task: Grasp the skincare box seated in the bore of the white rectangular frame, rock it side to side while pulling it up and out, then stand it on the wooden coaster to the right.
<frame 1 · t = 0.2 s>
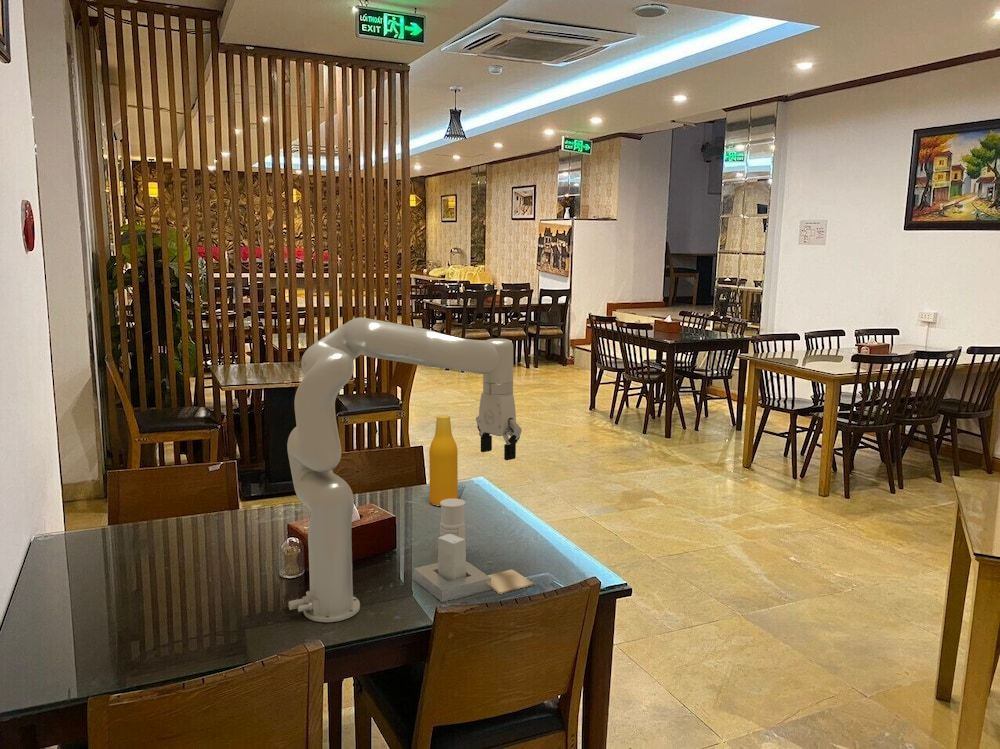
hand: (497, 455, 192), 30 cm above the table, tool pointing down, fingers open, 9 cm apart
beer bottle: (443, 503, 250), on the table
white rectangular frame: (451, 584, 188), on the table
skincare box: (451, 585, 188), resting in white rectangular frame
white ribbed canister: (452, 556, 206), on the table
wooden coaster: (506, 582, 189), on the table
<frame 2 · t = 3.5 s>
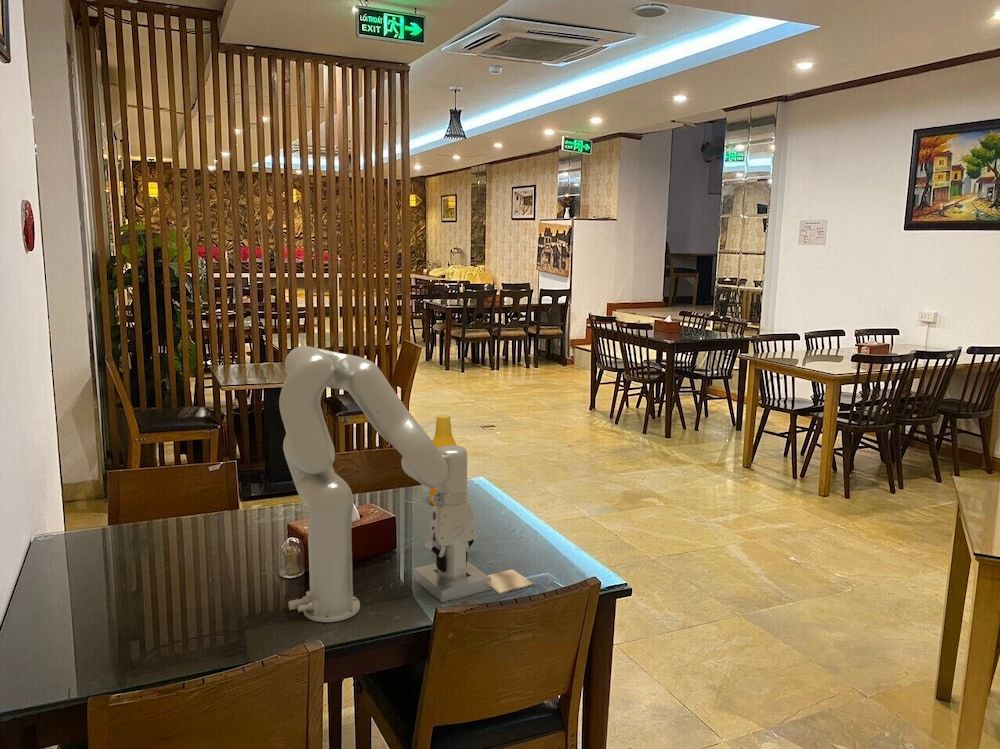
hand: (452, 567, 187), 4 cm above the table, tool pointing down, fingers closed on skincare box, 5 cm apart
skincare box: (452, 585, 188), resting in white rectangular frame, touching gripper
everything else where it was.
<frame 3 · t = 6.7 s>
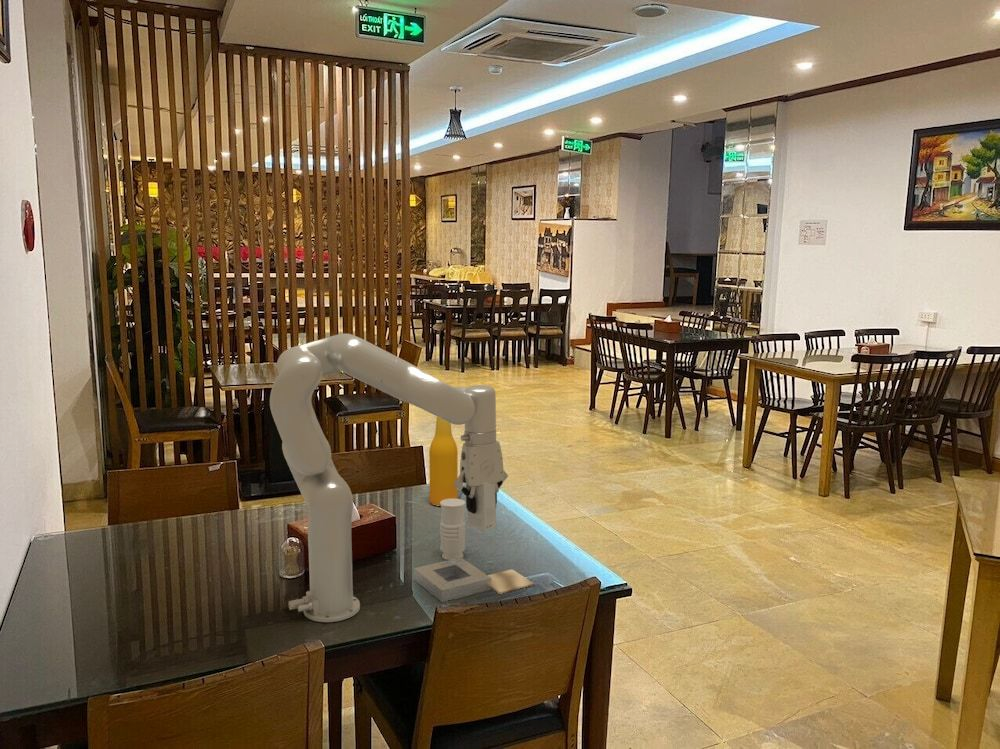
hand: (481, 508, 186), 19 cm above the table, tool pointing down, fingers closed on skincare box, 5 cm apart
skincare box: (481, 527, 187), point 14 cm above the table, touching gripper
everything else where it was.
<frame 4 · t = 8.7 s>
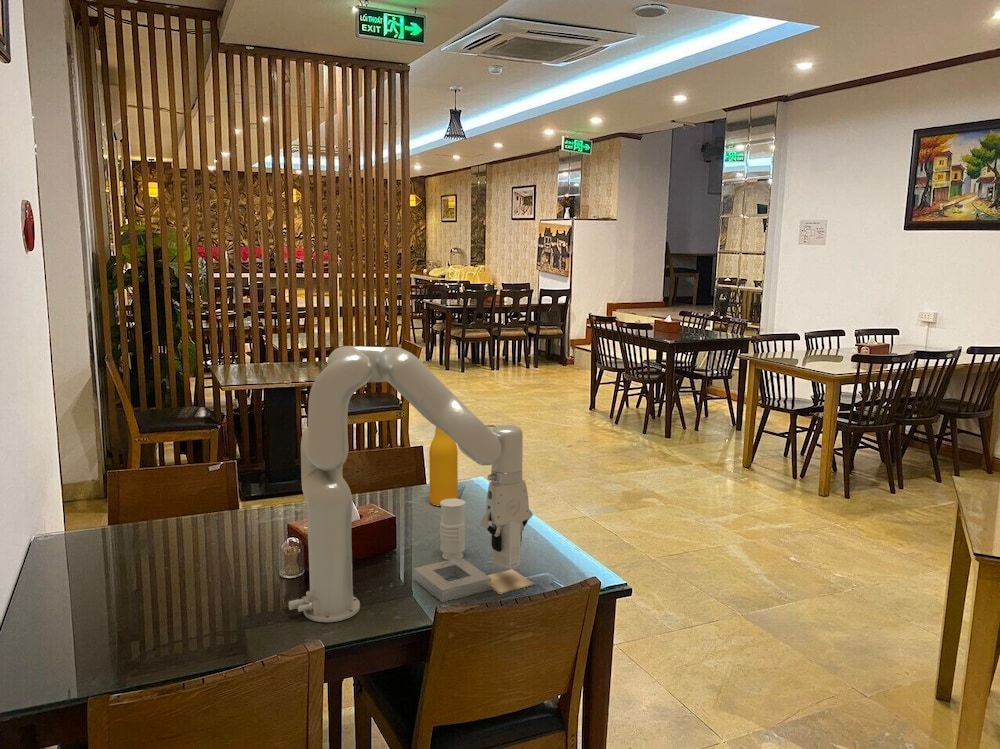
hand: (506, 547, 188), 9 cm above the table, tool pointing down, fingers closed on skincare box, 5 cm apart
skincare box: (506, 564, 189), point 5 cm above the table, touching gripper
everything else where it was.
when the fingers open (6 cm above the table, at t = 10.1 s): skincare box stays where it is, resting on wooden coaster.
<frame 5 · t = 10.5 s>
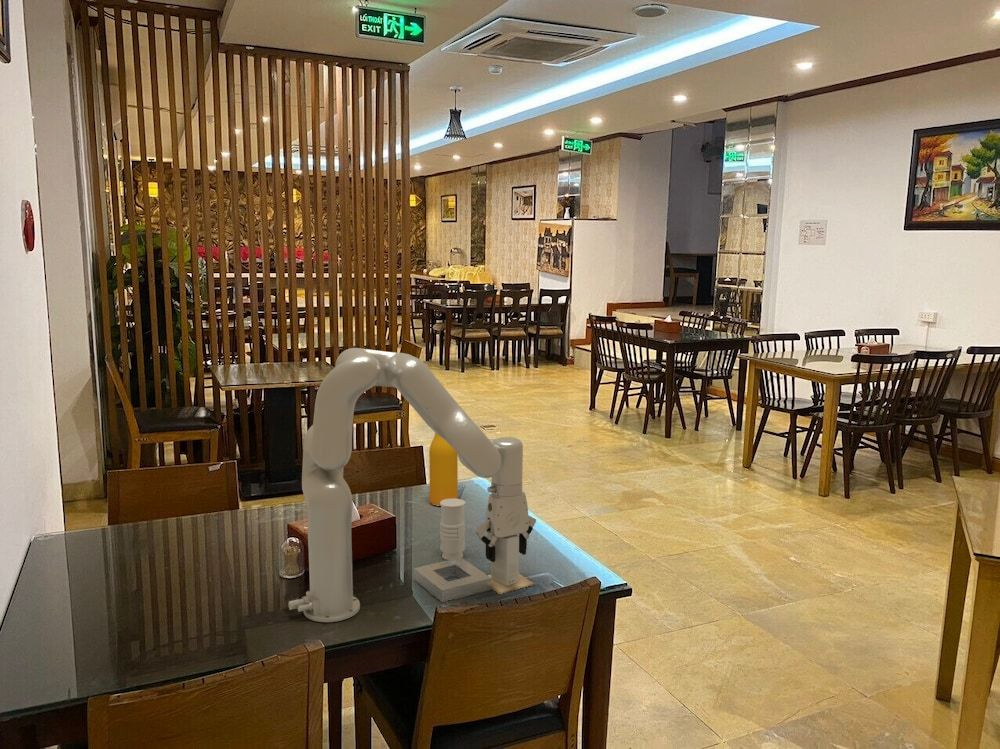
hand: (506, 556, 188), 7 cm above the table, tool pointing down, fingers open, 8 cm apart
skincare box: (504, 581, 189), resting on wooden coaster
everything else where it was.
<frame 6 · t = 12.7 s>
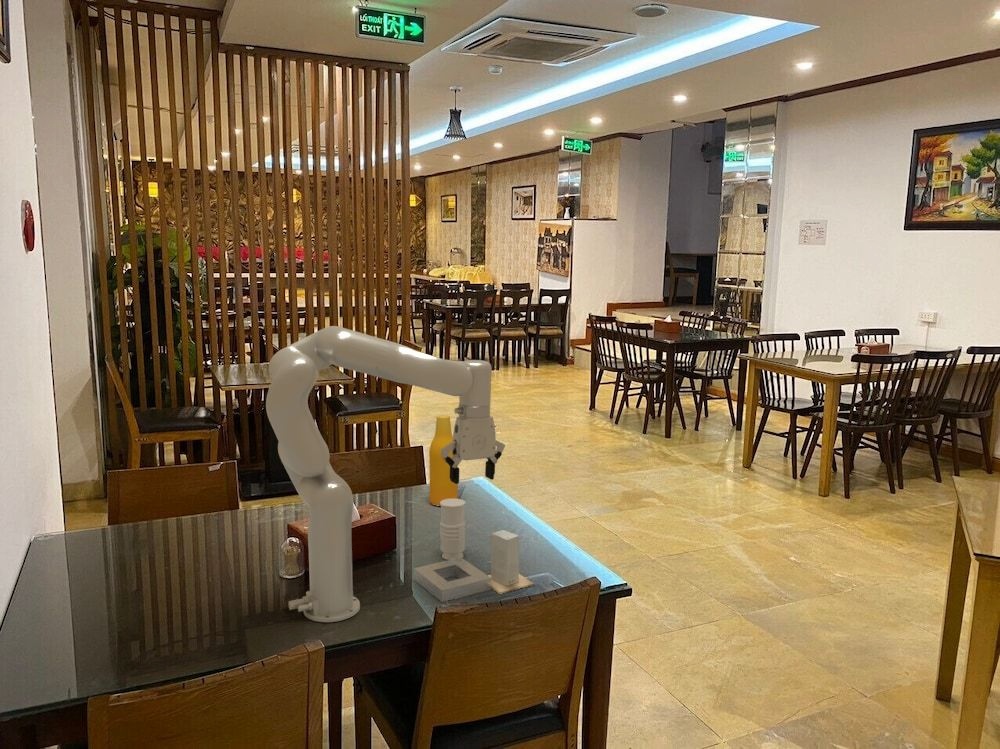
hand: (472, 480, 186), 26 cm above the table, tool pointing down, fingers open, 9 cm apart
nothing on the table moved.
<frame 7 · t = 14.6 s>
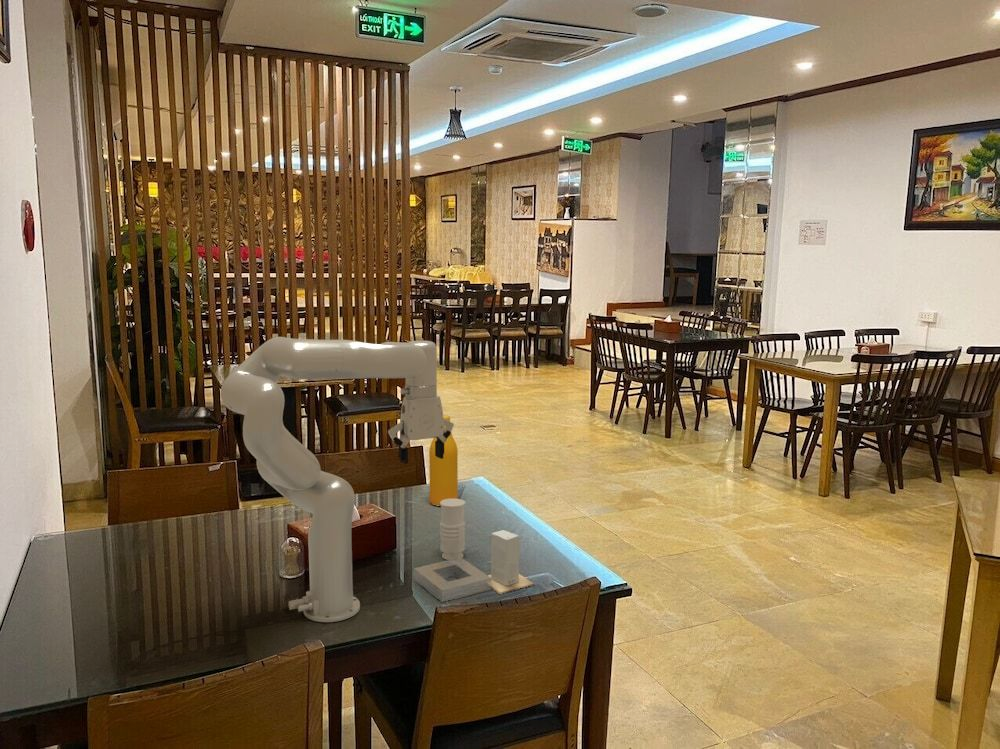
hand: (421, 460, 188), 30 cm above the table, tool pointing down, fingers open, 9 cm apart
nothing on the table moved.
at the end: skincare box 0.3 cm from the wooden coaster (horizontally); skincare box tilted 0°; skincare box resting on wooden coaster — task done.
